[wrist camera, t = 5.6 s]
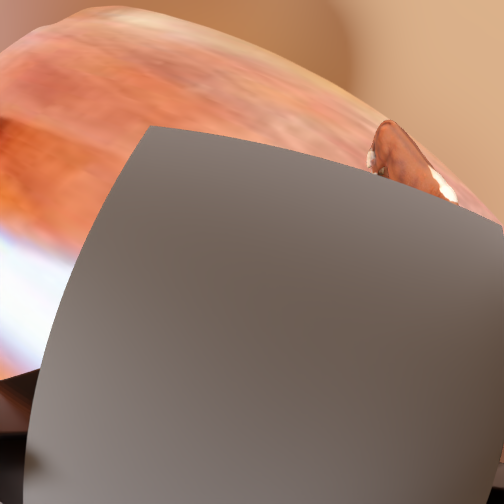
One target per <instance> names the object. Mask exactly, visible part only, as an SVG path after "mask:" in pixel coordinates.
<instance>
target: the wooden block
mask: <svg viewBox="0 0 504 504" xmlns="http://www.w3.org/2000/svg"><path fill="white" fill-rule="evenodd" d="M503 444H504V235H503V230H502V226H501V225H499V224H497V223H495V222H493V221H491V220H489V219H487V218H484V217H482V216H480V215H478V214H476V213H474V212H471V211H469V210H467V209H465V208H462V207H460V206H458V205H456V204H453V203H451V202H448V201H446V200H444V199H441V198H439V197H436V196H434V195H431V194H429V193H426V192H424V191H421V190H418V189H416V188H413V187H410V186H408V185H405V184H402V183H399V182H396V181H394V180H391V179H388V178H385V177H382V176H379V175H376V174H373V173H370V172H367V171H363V170H360V169H357V168H354V167H350V166H347V165H344V164H340V163H337V162H333V161H330V160H326V159H323V158H319V157H315V156H311V155H308V154H304V153H300V152H296V151H292V150H288V149H283V148H279V147H275V146H270V145H266V144H261V143H256V142H251V141H247V140H241V139H236V138H231V137H225V136H220V135H214V134H208V133H202V132H195V131H189V130H181V129H174V128H166V127H158V126H150V127H149V128H148V130H147V131H146V133H145V134H144V136H143V137H142V139H141V140H140V142H139V143H138V145H137V147H136V148H135V150H134V151H133V153H132V155H131V156H130V158H129V159H128V161H127V163H126V164H125V166H124V168H123V170H122V171H121V173H120V175H119V176H118V178H117V180H116V182H115V184H114V185H113V187H112V189H111V191H110V193H109V194H108V196H107V198H106V200H105V202H104V204H103V206H102V208H101V210H100V212H99V214H98V216H97V218H96V220H95V222H94V224H93V226H92V228H91V230H90V232H89V234H88V236H87V238H86V241H85V243H84V245H83V247H82V249H81V252H80V254H79V256H78V259H77V261H76V263H75V266H74V268H73V271H72V273H71V276H70V278H69V281H68V283H67V286H66V288H65V291H64V294H63V296H62V299H61V302H60V305H59V308H58V310H57V313H56V316H55V319H54V322H53V325H52V329H51V332H50V335H49V338H48V342H47V345H46V349H45V352H44V356H43V360H42V364H41V368H40V372H39V376H38V380H37V385H36V389H35V394H34V399H33V404H32V410H31V415H30V422H29V428H28V435H27V444H26V453H25V465H24V482H23V504H486V502H487V500H488V497H489V494H490V491H491V488H492V485H493V482H494V479H495V475H496V472H497V468H498V465H499V461H500V457H501V453H502V448H503Z"/></svg>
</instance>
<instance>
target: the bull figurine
mask: <svg viewBox="0 0 504 504" xmlns="http://www.w3.org/2000/svg"><path fill="white" fill-rule="evenodd" d="M367 167H368V168H370V167H372V171H371V173H373V174H376V175H378V174H379V175H383V174H384V167H387V168H388V175H389V179H391V180H394V181H396V182H399V183H402V184H405V185H408V186H410V187H413V188H416V189H418V190H421V191H424V192H426V193H429V194H431V195H434V196H436V197H439V198H441V199H444V200H446V201H448V202H451V203H453V204H456V205H458V199H457V196H456V193H455V191H454V190H453V189H452V188H451V187H450V186H449V185H448V184H447V183H446V181H445V180H444V178H443V177H442V176H441V175H440V174H439V173H438V172H437V171H436V170H435V169H434V168H433V166H432V165H431V164H430V163H429V161H428V160H427V159H426V157H425V156H424V155H423V154H422V152H421V151H420V149H419V148H418V146H417V145H416V143H415V142H414V141H413V140H412V139H411V138H410V137H409V135H408V134H407V133H406V132H405V131H404V130H403V129H402V128H401V127H400V126H399V125H398V124H397V123H396V122H394V121H392V120H386V121H384V122H383V123H381V125H380V126H379V127H378V129H377V131H376V134H375V136H374V140H373V143H372V146H371V148H370V150H369V152H368V155H367ZM458 206H459V205H458Z"/></svg>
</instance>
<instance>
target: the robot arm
mask: <svg viewBox="0 0 504 504" xmlns="http://www.w3.org/2000/svg"><path fill="white" fill-rule="evenodd" d="M39 372H40V369H37V370H34V371H30V372H27V373H24V374H21V375H18V376H14V377H11V378H8V379H4V380H0V504H23V482H24V465H25V453H26V444H27V435H28V428H29V422H30V415H31V410H32V404H33V399H34V394H35V389H36V385H37V380H38V376H39ZM486 504H504V463H501V462H499V465H498V468H497V472H496V475H495V479H494V482H493V485H492V488H491V491H490V494H489V497H488V500H487V502H486Z"/></svg>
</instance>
